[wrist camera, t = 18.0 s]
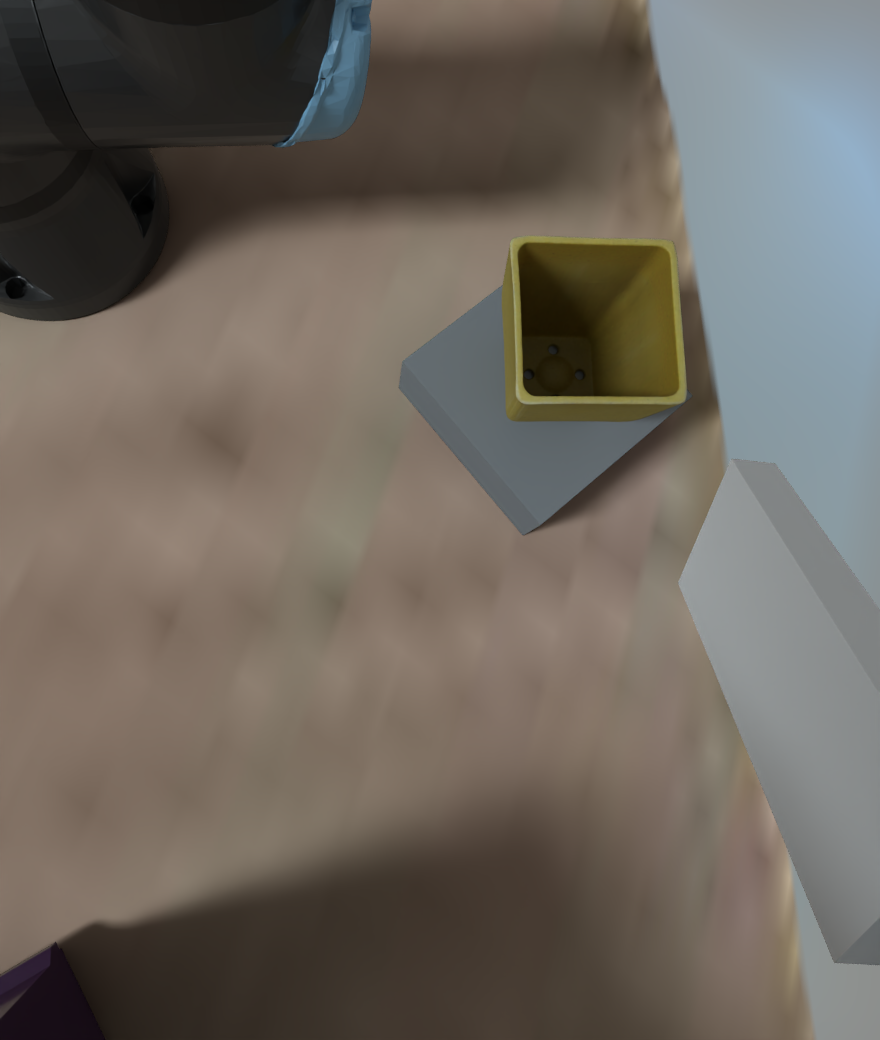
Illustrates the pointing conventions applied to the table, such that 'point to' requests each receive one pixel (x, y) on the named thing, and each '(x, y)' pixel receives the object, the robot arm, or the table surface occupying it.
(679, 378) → the flower pot
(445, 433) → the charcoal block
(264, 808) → the table surface
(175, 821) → the table surface
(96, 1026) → the purple box
